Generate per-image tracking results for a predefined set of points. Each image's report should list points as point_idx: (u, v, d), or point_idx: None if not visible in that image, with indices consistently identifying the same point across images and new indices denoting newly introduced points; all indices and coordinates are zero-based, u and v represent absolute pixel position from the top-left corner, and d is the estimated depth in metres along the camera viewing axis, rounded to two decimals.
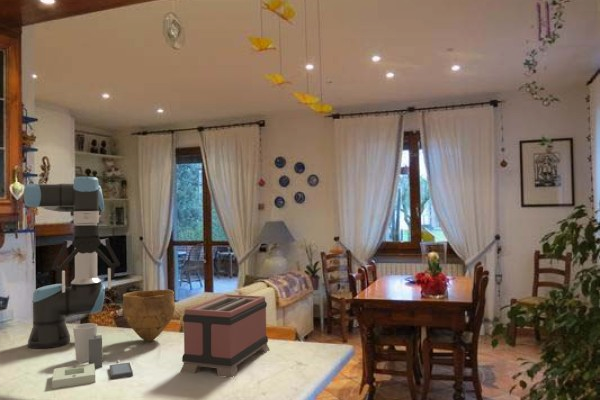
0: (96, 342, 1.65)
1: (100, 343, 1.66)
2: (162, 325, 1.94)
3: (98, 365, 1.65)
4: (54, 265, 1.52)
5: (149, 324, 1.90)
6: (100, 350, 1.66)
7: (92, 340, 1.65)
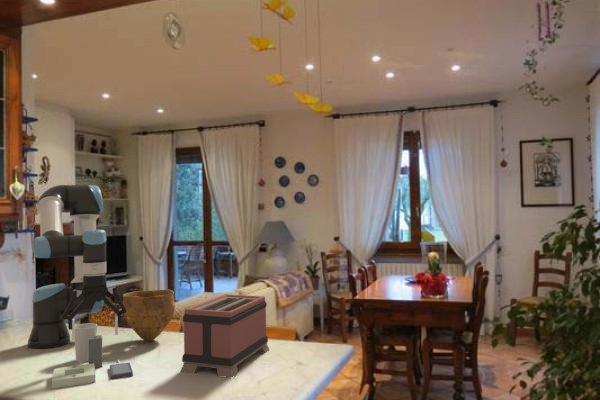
0: (96, 342, 1.65)
1: (100, 343, 1.66)
2: (162, 325, 1.94)
3: (98, 365, 1.65)
4: (65, 314, 1.62)
5: (149, 324, 1.90)
6: (100, 350, 1.66)
7: (92, 340, 1.65)
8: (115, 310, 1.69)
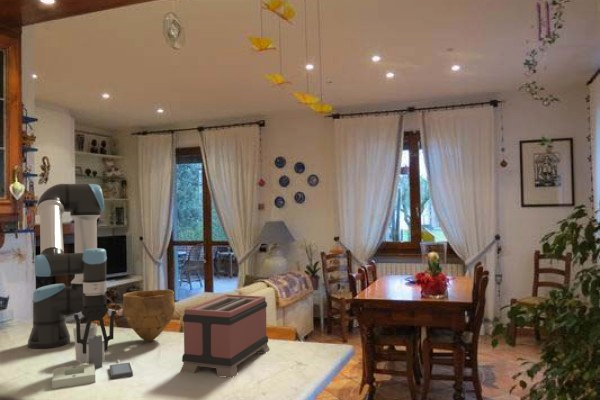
0: (96, 342, 1.65)
1: (100, 343, 1.66)
2: (162, 325, 1.94)
3: (98, 365, 1.65)
4: (78, 339, 1.64)
5: (149, 324, 1.90)
6: (100, 350, 1.66)
7: (92, 340, 1.65)
8: (104, 335, 1.67)
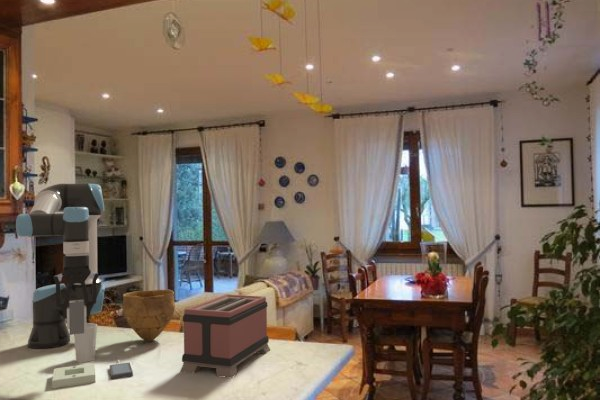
0: (77, 306, 1.54)
1: (82, 307, 1.55)
2: (162, 325, 1.94)
3: (80, 331, 1.54)
4: (57, 302, 1.53)
5: (149, 324, 1.90)
6: (82, 315, 1.55)
7: (73, 304, 1.54)
8: (86, 299, 1.56)
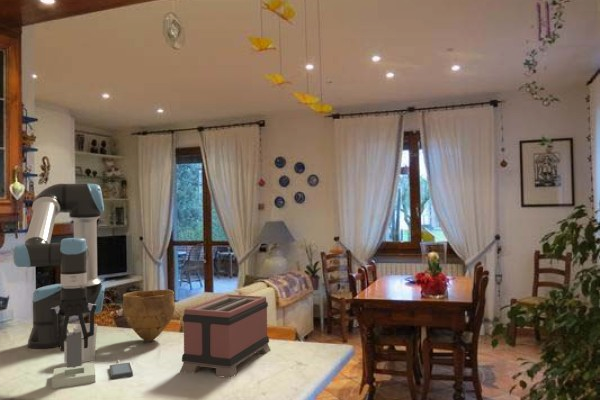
0: (75, 338, 1.53)
1: (79, 340, 1.53)
2: (162, 325, 1.94)
3: (77, 363, 1.53)
4: (55, 335, 1.51)
5: (149, 324, 1.90)
6: (79, 347, 1.53)
7: (70, 336, 1.52)
8: (83, 331, 1.55)
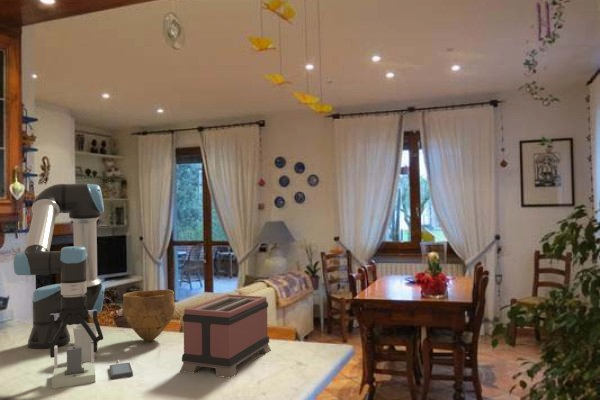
0: (75, 353, 1.53)
1: (79, 354, 1.53)
2: (162, 325, 1.94)
3: None
4: (46, 341, 1.50)
5: (149, 324, 1.90)
6: (79, 362, 1.53)
7: (70, 351, 1.52)
8: (92, 336, 1.56)
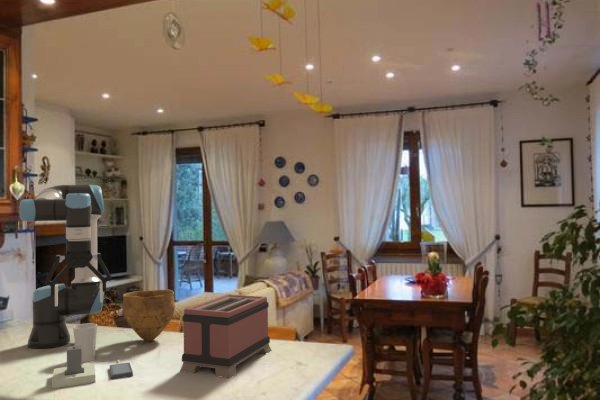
0: (75, 353, 1.53)
1: (79, 354, 1.53)
2: (162, 325, 1.94)
3: None
4: (47, 280, 1.56)
5: (149, 324, 1.90)
6: (79, 362, 1.53)
7: (70, 351, 1.52)
8: (100, 277, 1.62)
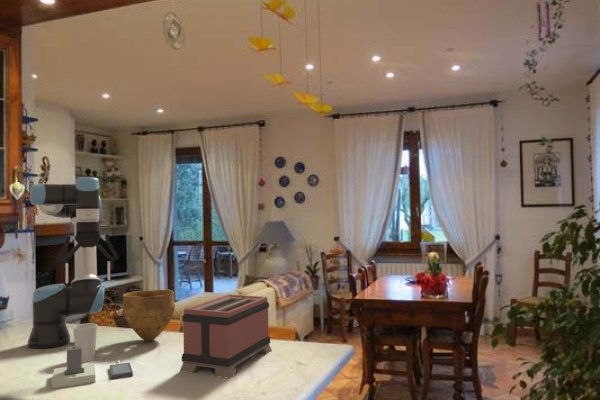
0: (75, 353, 1.53)
1: (79, 354, 1.54)
2: (162, 325, 1.94)
3: None
4: (58, 258, 1.66)
5: (149, 324, 1.90)
6: (79, 362, 1.53)
7: (70, 351, 1.52)
8: (108, 256, 1.73)
